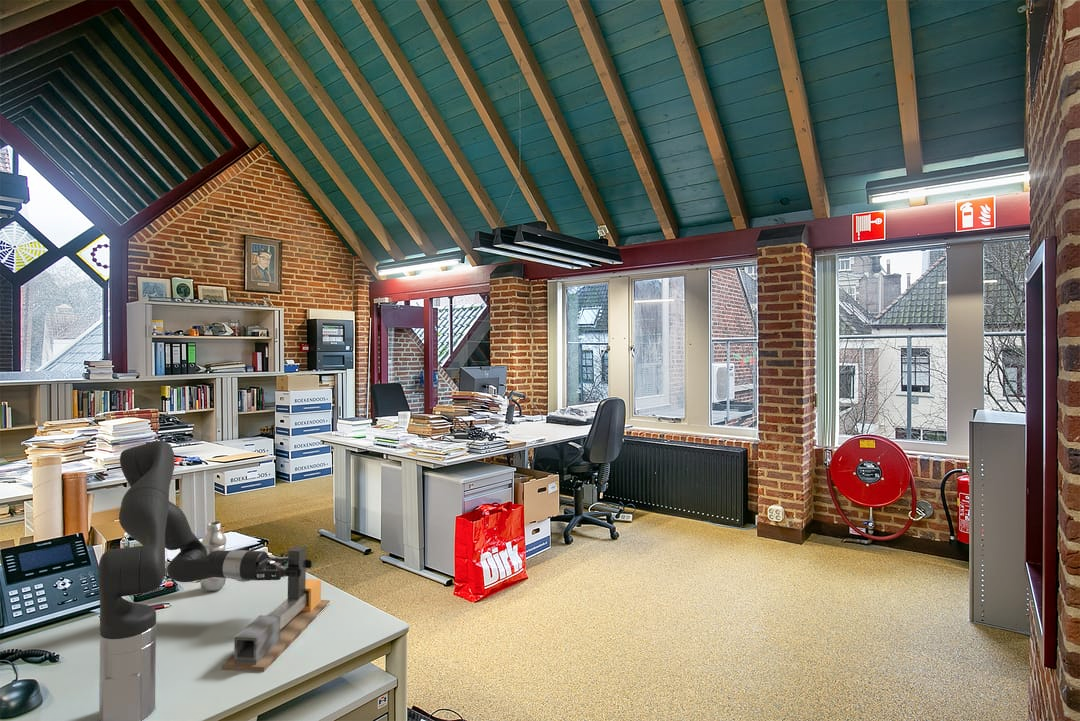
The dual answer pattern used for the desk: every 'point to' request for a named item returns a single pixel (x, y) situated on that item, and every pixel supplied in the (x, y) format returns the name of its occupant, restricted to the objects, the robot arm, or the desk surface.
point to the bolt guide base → (267, 640)
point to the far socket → (313, 593)
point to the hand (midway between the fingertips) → (306, 567)
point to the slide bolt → (294, 588)
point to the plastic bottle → (212, 543)
